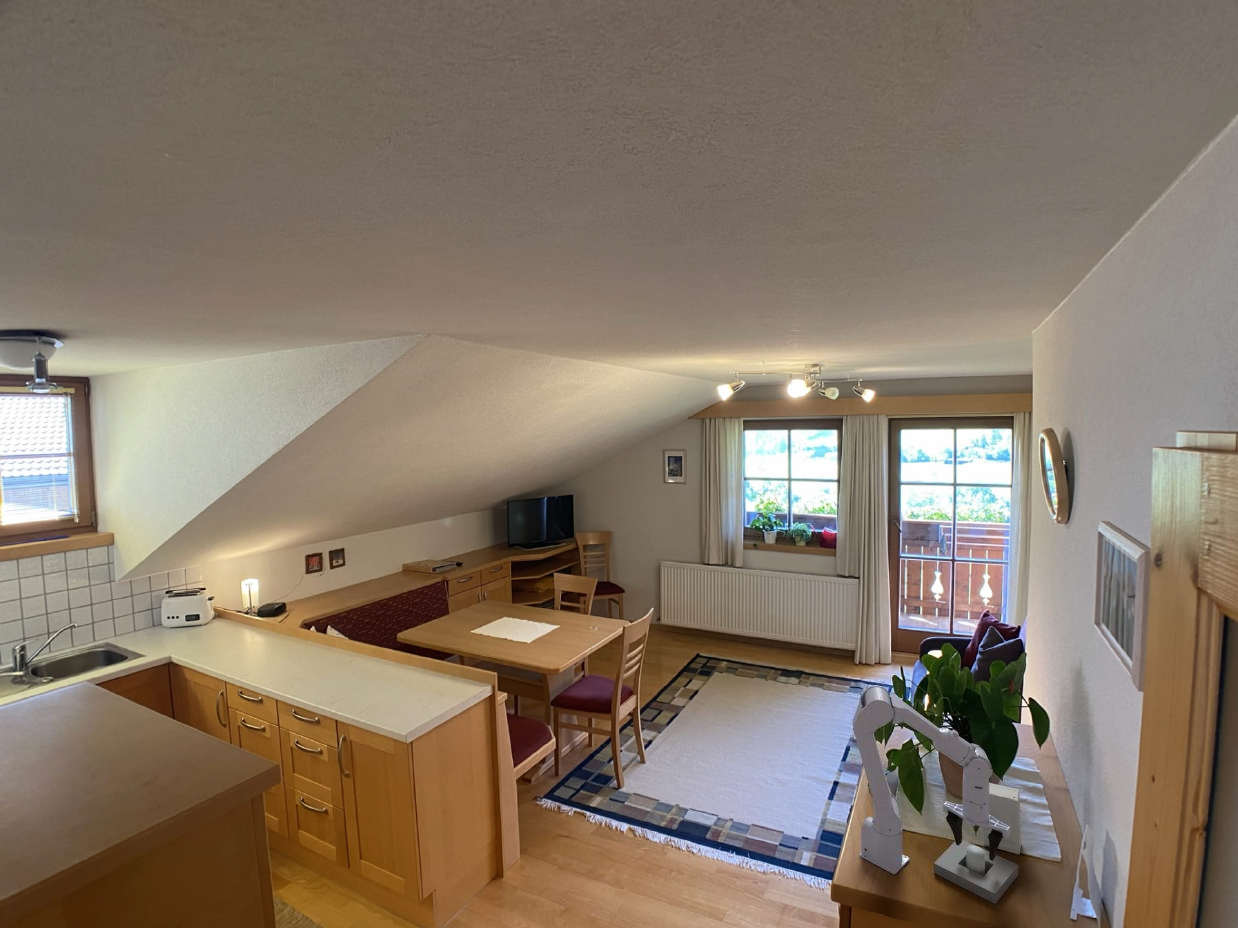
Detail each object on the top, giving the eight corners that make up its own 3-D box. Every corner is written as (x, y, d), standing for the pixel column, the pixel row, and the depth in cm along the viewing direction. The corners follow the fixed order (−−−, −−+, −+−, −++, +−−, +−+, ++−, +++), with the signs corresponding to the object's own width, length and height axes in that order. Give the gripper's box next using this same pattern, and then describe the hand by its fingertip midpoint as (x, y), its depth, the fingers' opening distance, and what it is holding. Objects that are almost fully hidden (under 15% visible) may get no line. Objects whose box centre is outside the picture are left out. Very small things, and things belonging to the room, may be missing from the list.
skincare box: (1021, 843, 170) (1021, 788, 169) (1019, 856, 165) (1019, 800, 164) (984, 832, 175) (984, 779, 174) (981, 844, 170) (981, 790, 169)
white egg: (963, 873, 160) (963, 850, 159) (970, 865, 163) (970, 842, 162) (981, 882, 157) (981, 858, 156) (987, 873, 160) (987, 850, 159)
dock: (933, 872, 161) (933, 862, 161) (958, 846, 170) (958, 837, 169) (995, 903, 150) (995, 893, 150) (1018, 874, 159) (1018, 864, 159)
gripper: (938, 792, 161) (938, 844, 162) (1003, 817, 150) (1002, 873, 151) (949, 780, 166) (949, 831, 167) (1013, 804, 155) (1012, 858, 156)
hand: (975, 850), depth 159 cm, fingers open, 7 cm apart
